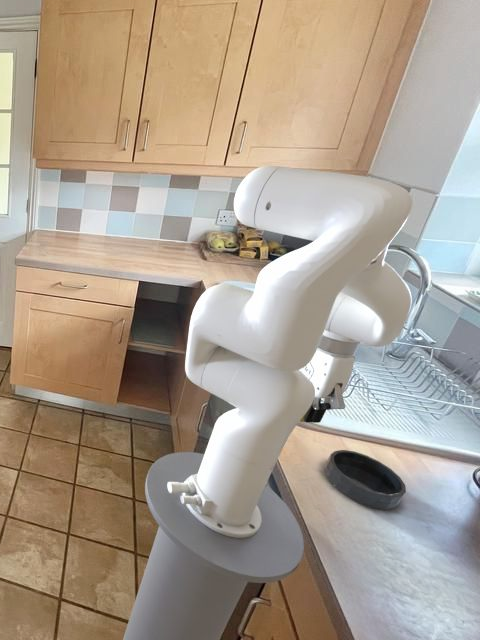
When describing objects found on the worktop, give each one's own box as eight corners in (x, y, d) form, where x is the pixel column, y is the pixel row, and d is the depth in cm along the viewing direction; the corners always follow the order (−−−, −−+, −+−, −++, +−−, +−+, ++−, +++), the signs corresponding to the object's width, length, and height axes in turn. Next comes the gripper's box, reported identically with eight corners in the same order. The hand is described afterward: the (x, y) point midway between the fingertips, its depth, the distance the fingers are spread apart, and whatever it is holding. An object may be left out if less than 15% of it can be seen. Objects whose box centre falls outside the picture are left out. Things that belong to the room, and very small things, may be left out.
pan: (354, 509, 78) (362, 496, 76) (310, 461, 88) (316, 448, 86) (414, 511, 77) (423, 498, 76) (363, 462, 88) (370, 450, 86)
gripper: (284, 319, 91) (259, 385, 98) (348, 365, 75) (312, 440, 83) (319, 320, 90) (291, 386, 98) (390, 366, 75) (350, 441, 83)
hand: (301, 410), depth 90 cm, fingers closed on lemon, 5 cm apart
